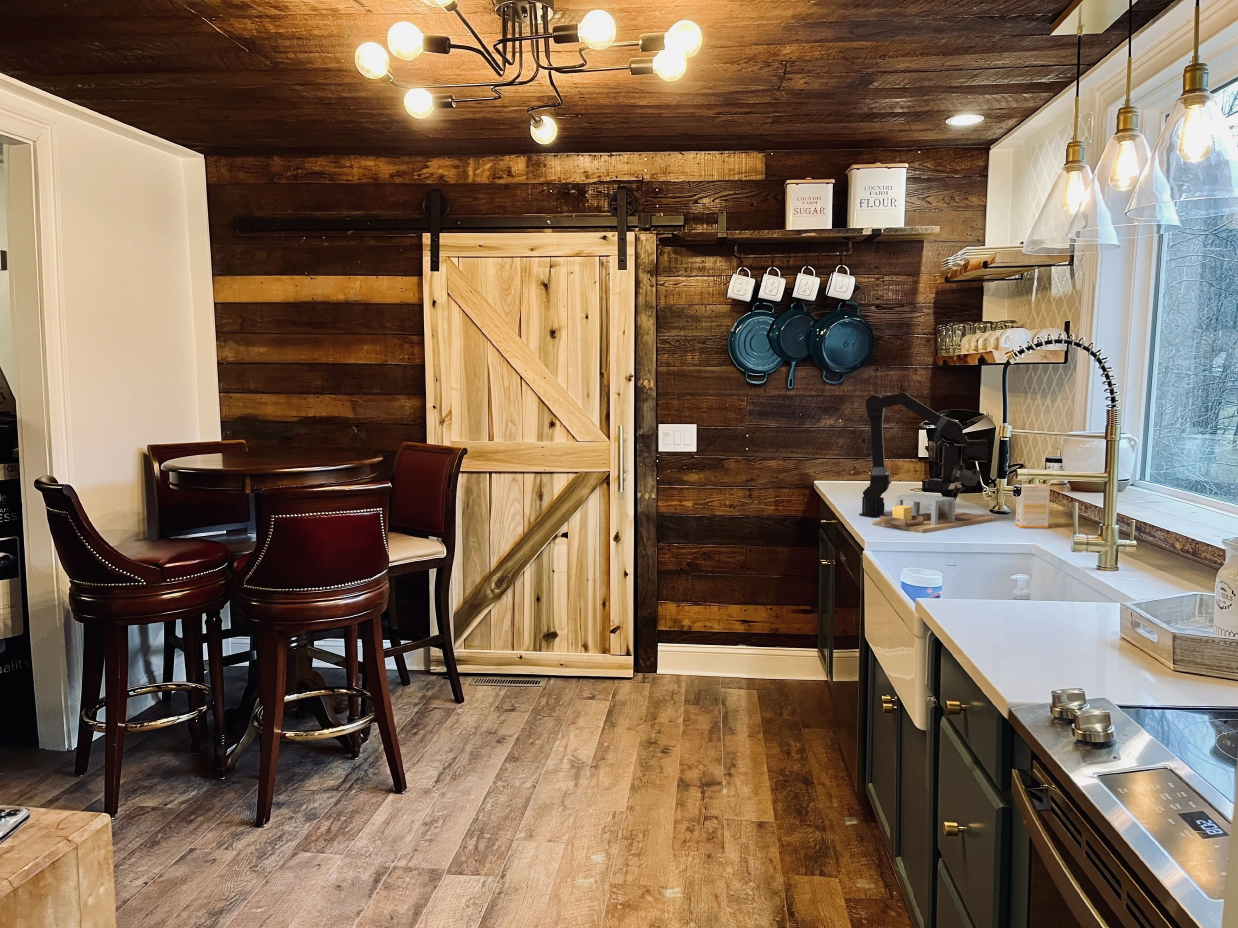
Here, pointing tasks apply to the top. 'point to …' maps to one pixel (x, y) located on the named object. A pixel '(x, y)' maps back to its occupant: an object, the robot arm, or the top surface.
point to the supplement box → (1033, 506)
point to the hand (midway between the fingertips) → (950, 509)
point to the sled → (916, 517)
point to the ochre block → (902, 512)
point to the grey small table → (934, 507)
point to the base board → (940, 522)
